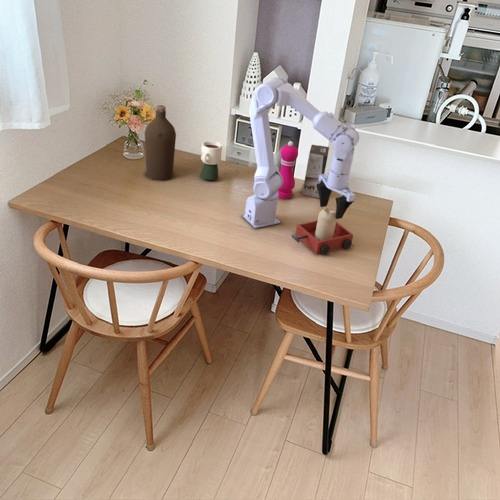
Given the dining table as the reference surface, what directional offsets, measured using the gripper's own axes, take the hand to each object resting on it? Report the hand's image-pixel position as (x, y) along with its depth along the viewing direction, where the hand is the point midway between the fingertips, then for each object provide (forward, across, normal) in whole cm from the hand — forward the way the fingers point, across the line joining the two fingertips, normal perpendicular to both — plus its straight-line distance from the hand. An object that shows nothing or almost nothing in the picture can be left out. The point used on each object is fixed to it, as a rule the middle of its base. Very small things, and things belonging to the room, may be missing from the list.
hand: (330, 212), depth 159 cm
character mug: (+10, +50, +15) cm, 54 cm away
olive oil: (+10, +58, +31) cm, 67 cm away
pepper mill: (+10, +30, -4) cm, 32 cm away
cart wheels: (+10, 0, +4) cm, 11 cm away
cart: (+10, 0, +1) cm, 10 cm away
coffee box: (+10, +30, -16) cm, 35 cm away
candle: (+10, 0, +1) cm, 10 cm away
